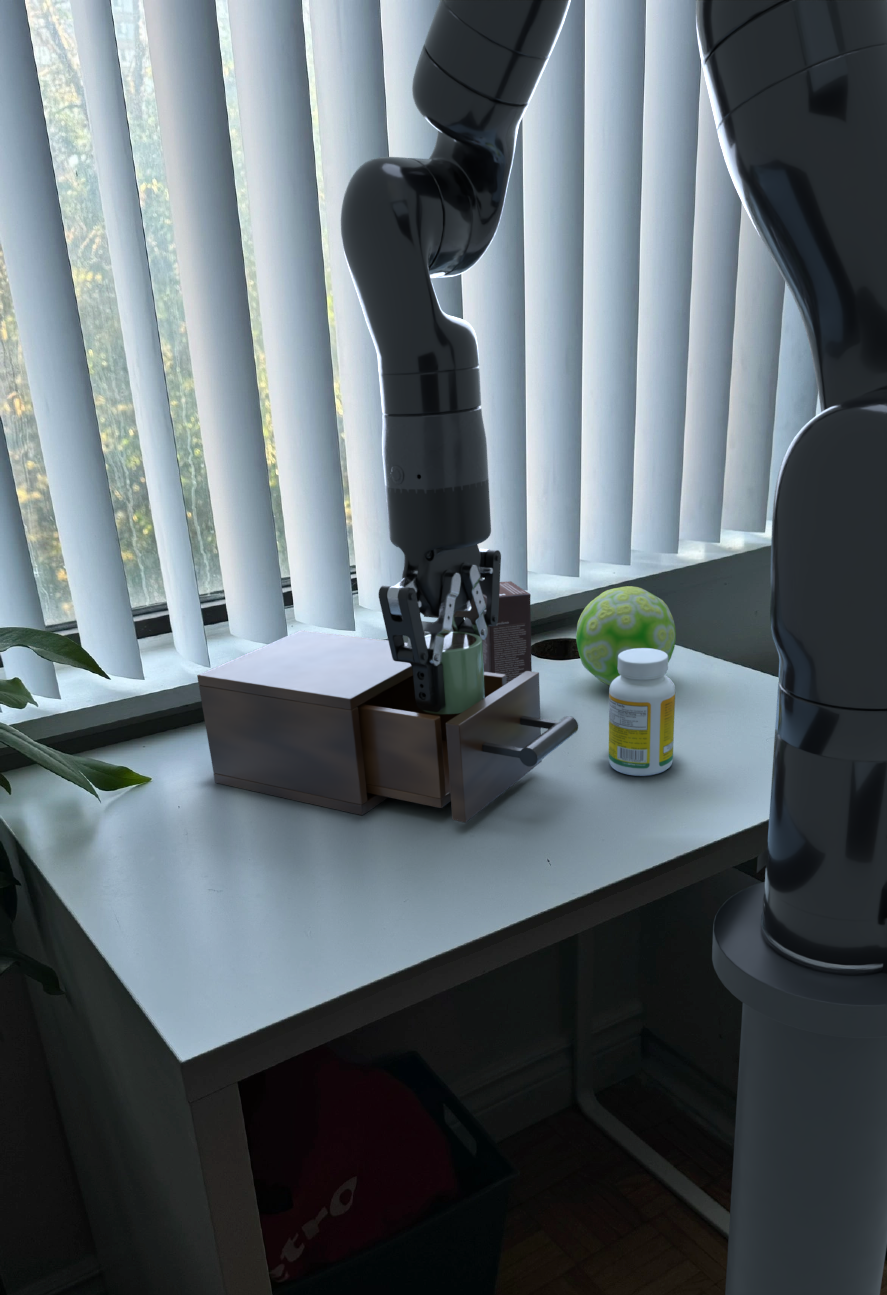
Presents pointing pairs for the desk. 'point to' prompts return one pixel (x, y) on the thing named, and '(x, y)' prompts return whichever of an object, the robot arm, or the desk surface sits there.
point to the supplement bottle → (641, 713)
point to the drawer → (457, 744)
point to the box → (509, 634)
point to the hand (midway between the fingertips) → (451, 696)
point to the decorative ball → (622, 629)
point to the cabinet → (298, 717)
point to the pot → (461, 671)
